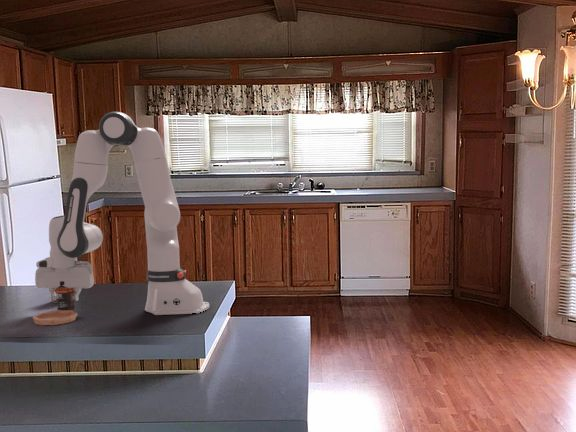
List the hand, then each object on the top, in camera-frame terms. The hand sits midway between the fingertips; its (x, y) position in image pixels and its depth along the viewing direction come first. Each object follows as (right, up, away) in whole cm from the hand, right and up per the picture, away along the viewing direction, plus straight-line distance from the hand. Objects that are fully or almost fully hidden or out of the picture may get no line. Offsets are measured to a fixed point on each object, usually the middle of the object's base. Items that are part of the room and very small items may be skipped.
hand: (65, 300), depth 213 cm
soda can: (-8, -3, +17) cm, 19 cm away
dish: (+1, -5, -11) cm, 12 cm away
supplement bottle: (0, -4, 0) cm, 4 cm away
